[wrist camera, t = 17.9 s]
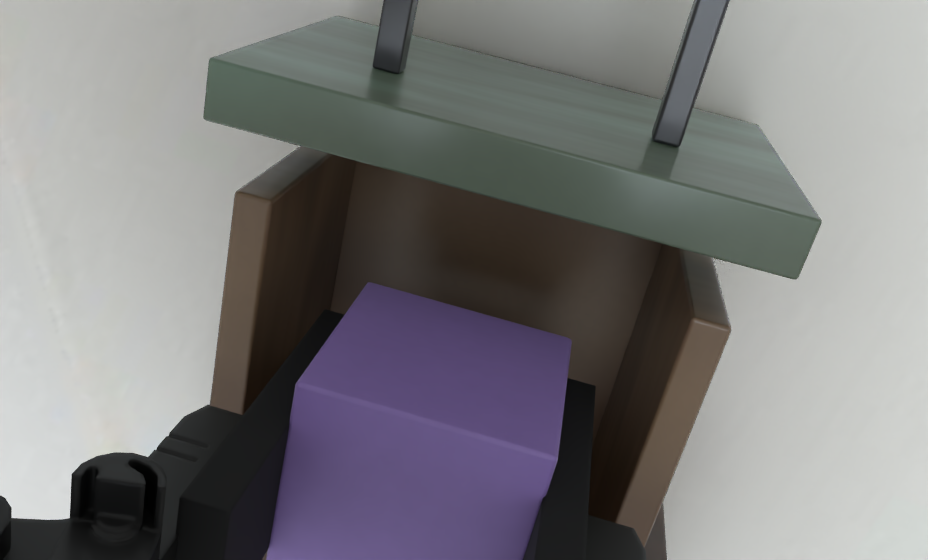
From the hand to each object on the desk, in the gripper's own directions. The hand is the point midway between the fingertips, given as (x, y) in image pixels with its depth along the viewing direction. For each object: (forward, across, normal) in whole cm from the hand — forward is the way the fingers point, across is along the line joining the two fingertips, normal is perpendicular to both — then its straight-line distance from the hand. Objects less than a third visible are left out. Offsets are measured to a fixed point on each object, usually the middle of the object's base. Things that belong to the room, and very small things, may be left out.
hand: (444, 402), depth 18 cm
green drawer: (+7, 0, +2) cm, 8 cm away
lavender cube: (0, 0, 0) cm, 0 cm away
